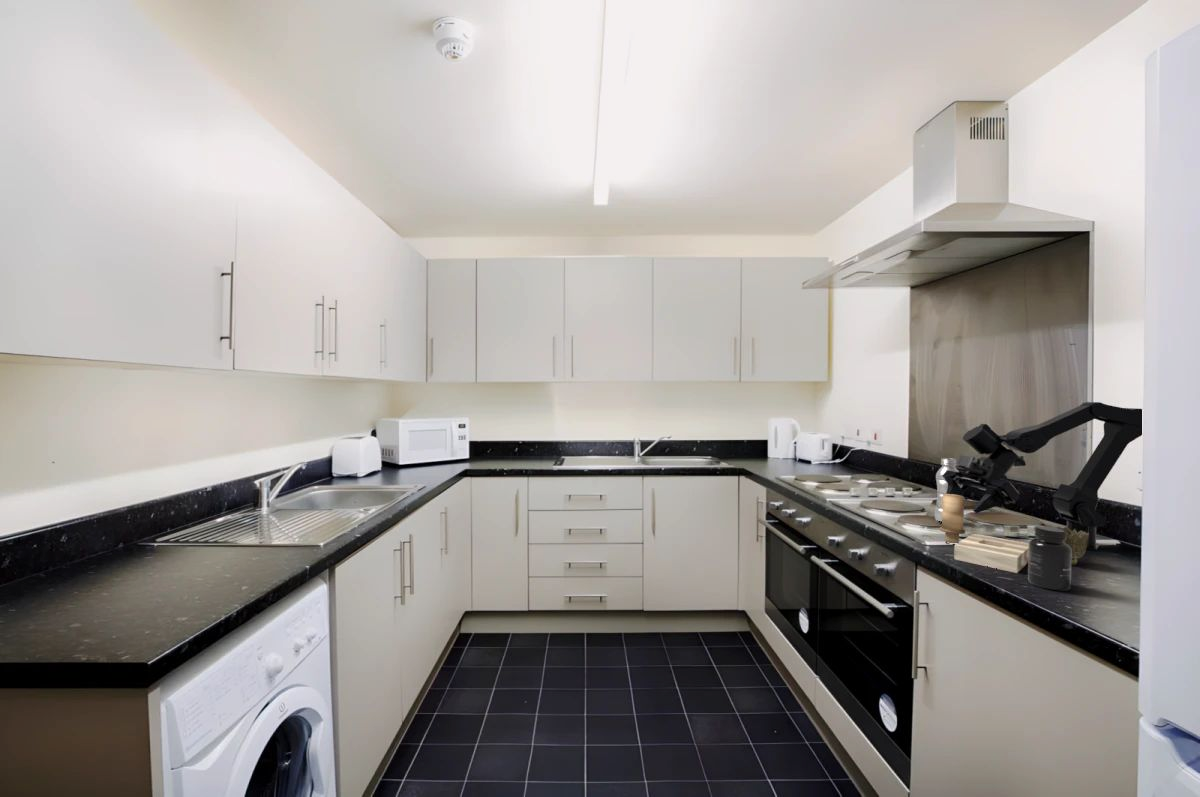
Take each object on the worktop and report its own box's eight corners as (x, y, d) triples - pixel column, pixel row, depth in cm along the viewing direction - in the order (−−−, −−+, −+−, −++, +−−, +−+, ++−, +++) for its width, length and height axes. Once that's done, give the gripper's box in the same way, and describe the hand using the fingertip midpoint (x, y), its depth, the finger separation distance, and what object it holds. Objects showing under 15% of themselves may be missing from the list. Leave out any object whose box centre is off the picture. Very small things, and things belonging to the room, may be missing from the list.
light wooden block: (973, 546, 134) (973, 533, 134) (1032, 558, 125) (1032, 544, 125) (954, 559, 123) (954, 544, 123) (1017, 573, 114) (1017, 557, 114)
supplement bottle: (1074, 594, 102) (1076, 535, 102) (1030, 587, 106) (1032, 530, 106) (1066, 583, 108) (1067, 527, 108) (1024, 577, 112) (1026, 522, 112)
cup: (1070, 558, 125) (1071, 526, 124) (1097, 569, 117) (1098, 534, 117) (1038, 557, 125) (1038, 525, 125) (1062, 568, 118) (1062, 533, 118)
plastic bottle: (930, 520, 161) (931, 457, 160) (953, 521, 160) (954, 458, 160) (940, 525, 154) (942, 460, 154) (965, 526, 153) (966, 460, 153)
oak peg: (943, 539, 141) (944, 492, 140) (967, 543, 136) (968, 496, 136) (936, 542, 137) (937, 495, 137) (961, 547, 133) (962, 498, 132)
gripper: (948, 442, 147) (914, 480, 145) (1011, 449, 128) (972, 494, 127) (971, 469, 148) (937, 507, 147) (1036, 480, 130) (998, 524, 128)
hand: (959, 507), depth 137 cm, fingers open, 9 cm apart
